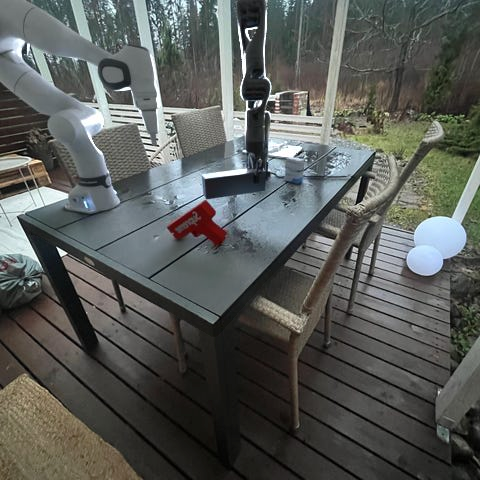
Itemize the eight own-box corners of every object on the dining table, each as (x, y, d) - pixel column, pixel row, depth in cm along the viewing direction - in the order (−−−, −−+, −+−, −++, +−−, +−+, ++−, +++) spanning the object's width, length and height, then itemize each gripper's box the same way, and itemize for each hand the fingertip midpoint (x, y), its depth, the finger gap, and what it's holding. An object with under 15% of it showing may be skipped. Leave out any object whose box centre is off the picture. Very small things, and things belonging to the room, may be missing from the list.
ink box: (302, 181, 142) (305, 159, 136) (297, 184, 139) (300, 161, 133) (289, 177, 147) (291, 156, 141) (284, 180, 144) (285, 158, 138)
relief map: (291, 159, 177) (291, 151, 174) (243, 153, 190) (243, 145, 187) (302, 149, 197) (303, 142, 194) (258, 144, 211) (258, 137, 208)
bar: (260, 186, 118) (261, 167, 114) (265, 190, 114) (266, 171, 109) (203, 194, 112) (201, 174, 107) (206, 199, 107) (204, 178, 103)
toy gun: (233, 234, 92) (206, 198, 88) (229, 240, 88) (200, 203, 84) (198, 253, 102) (172, 221, 98) (193, 259, 98) (166, 227, 94)
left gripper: (136, 98, 102) (144, 137, 110) (137, 105, 86) (146, 149, 93) (154, 98, 104) (160, 136, 111) (158, 104, 87) (164, 148, 95)
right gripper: (239, 135, 108) (239, 176, 118) (252, 143, 97) (251, 188, 106) (256, 134, 110) (255, 174, 120) (271, 142, 99) (269, 185, 108)
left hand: (153, 142), depth 102 cm, fingers open, 8 cm apart
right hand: (253, 180), depth 113 cm, fingers closed on bar, 5 cm apart
